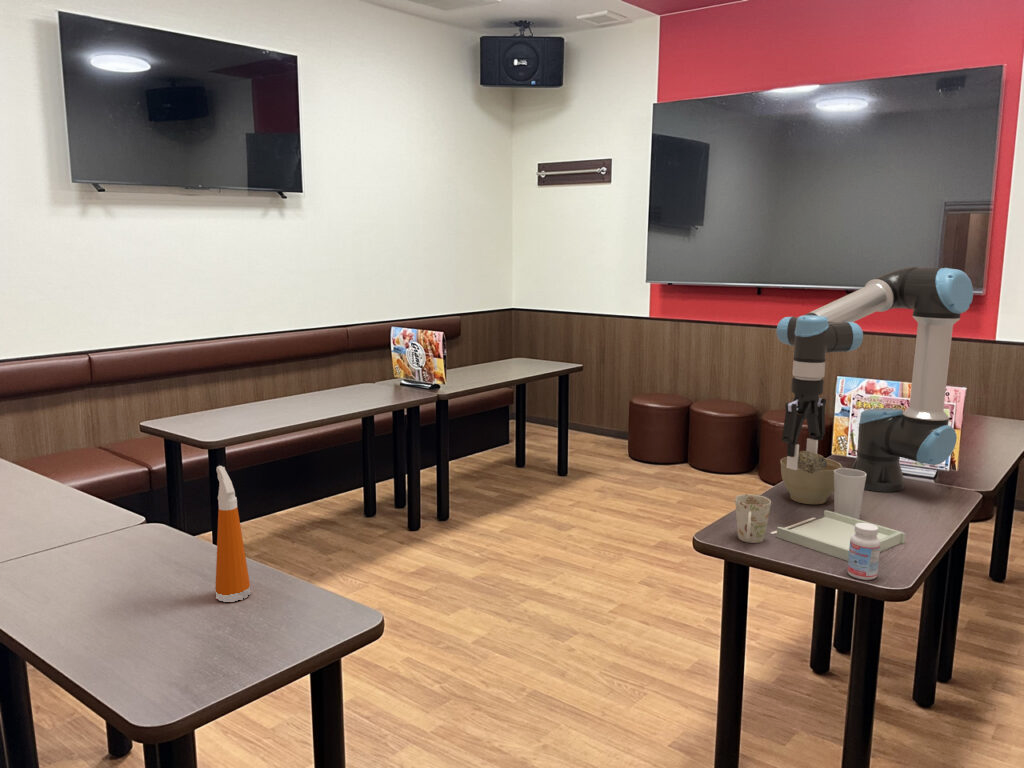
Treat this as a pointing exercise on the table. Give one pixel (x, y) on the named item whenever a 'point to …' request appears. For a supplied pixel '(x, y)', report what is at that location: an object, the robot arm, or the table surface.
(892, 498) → the table surface
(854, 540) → the pill bottle
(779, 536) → the white square tray
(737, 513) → the mug
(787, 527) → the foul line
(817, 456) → the rock
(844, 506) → the cup
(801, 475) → the planter bowl
